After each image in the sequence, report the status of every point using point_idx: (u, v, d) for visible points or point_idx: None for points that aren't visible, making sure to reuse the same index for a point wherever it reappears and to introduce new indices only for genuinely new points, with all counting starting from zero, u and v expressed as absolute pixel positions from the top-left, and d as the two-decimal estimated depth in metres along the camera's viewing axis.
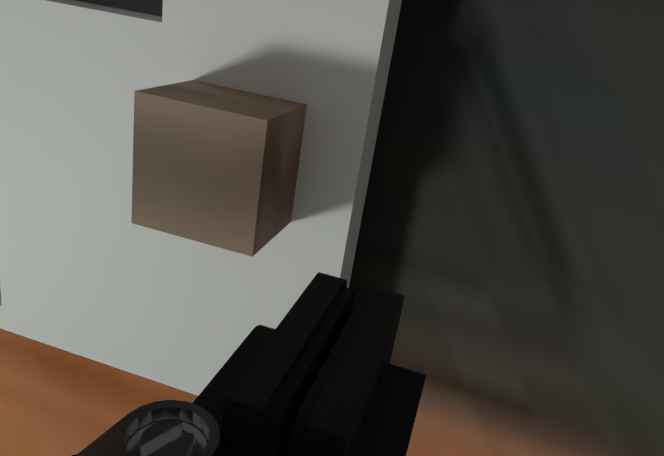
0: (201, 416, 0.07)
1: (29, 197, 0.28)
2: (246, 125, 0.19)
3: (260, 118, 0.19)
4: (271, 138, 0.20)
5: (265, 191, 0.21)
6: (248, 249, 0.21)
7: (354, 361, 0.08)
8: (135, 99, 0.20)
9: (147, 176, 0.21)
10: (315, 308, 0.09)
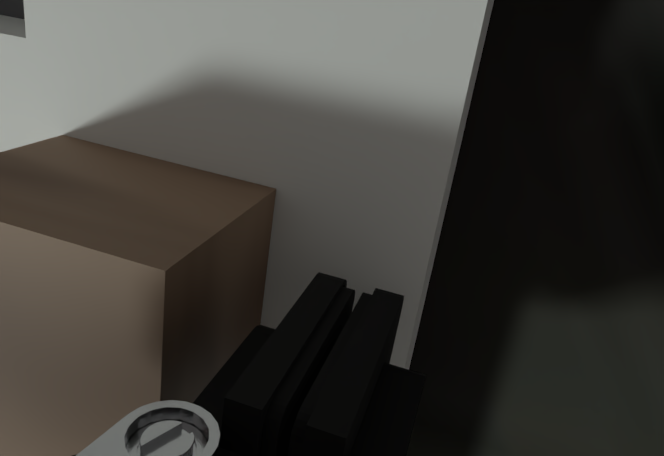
0: (201, 416, 0.07)
1: None
2: (119, 276, 0.08)
3: (150, 263, 0.08)
4: (184, 297, 0.09)
5: None
6: None
7: (354, 361, 0.08)
8: None
9: None
10: (315, 308, 0.09)
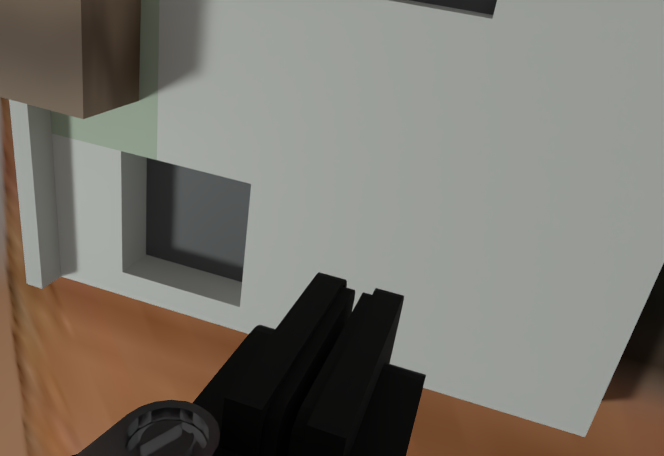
0: (201, 416, 0.07)
1: (293, 198, 0.27)
2: None
3: None
4: (90, 8, 0.23)
5: (90, 60, 0.23)
6: (79, 112, 0.24)
7: (354, 361, 0.08)
8: None
9: None
10: (315, 308, 0.09)
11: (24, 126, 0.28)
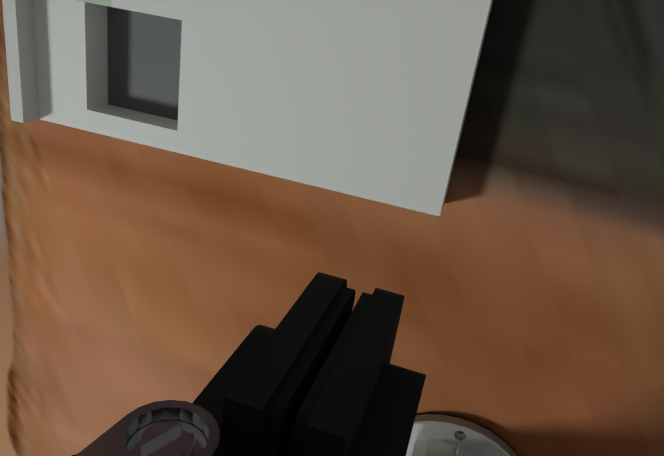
0: (201, 416, 0.07)
1: (213, 29, 0.35)
2: None
3: None
4: None
5: None
6: None
7: (354, 361, 0.08)
8: None
9: None
10: (315, 308, 0.09)
11: None
